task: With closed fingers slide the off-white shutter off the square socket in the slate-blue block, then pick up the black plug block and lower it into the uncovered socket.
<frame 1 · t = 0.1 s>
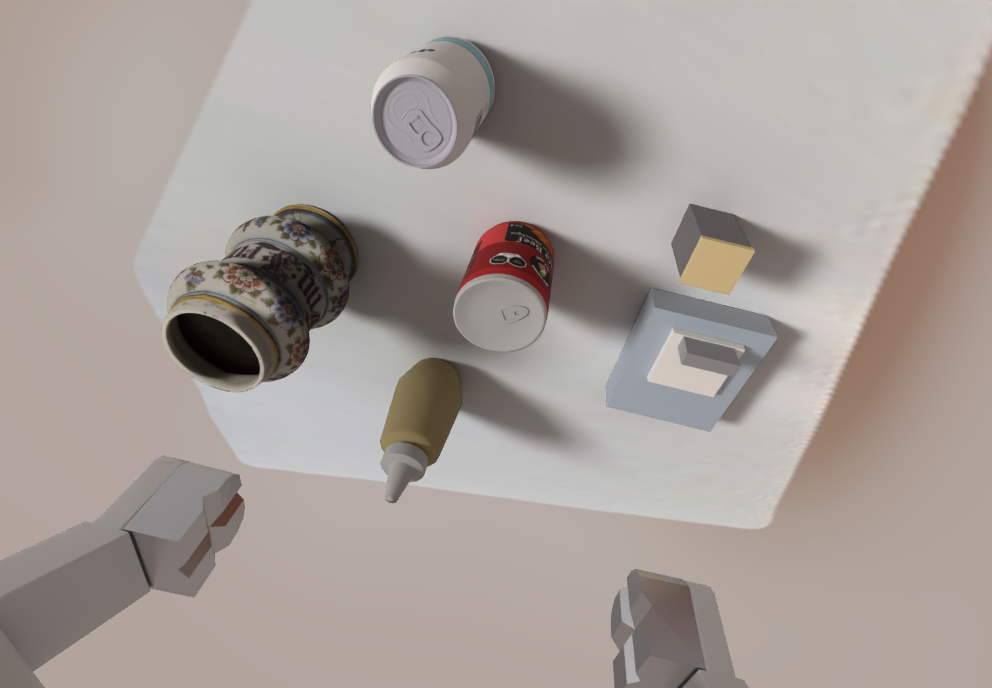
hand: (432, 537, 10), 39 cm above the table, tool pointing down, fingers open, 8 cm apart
apothecary jar: (314, 247, 53), on the table
shutter: (695, 372, 49), point 5 cm above the table, slide at 0.0 cm
canned food: (515, 253, 50), on the table
plug: (701, 229, 45), on the table
socket block: (680, 353, 54), on the table
squeeze bottle: (437, 374, 62), on the table
beverage can: (455, 83, 41), on the table
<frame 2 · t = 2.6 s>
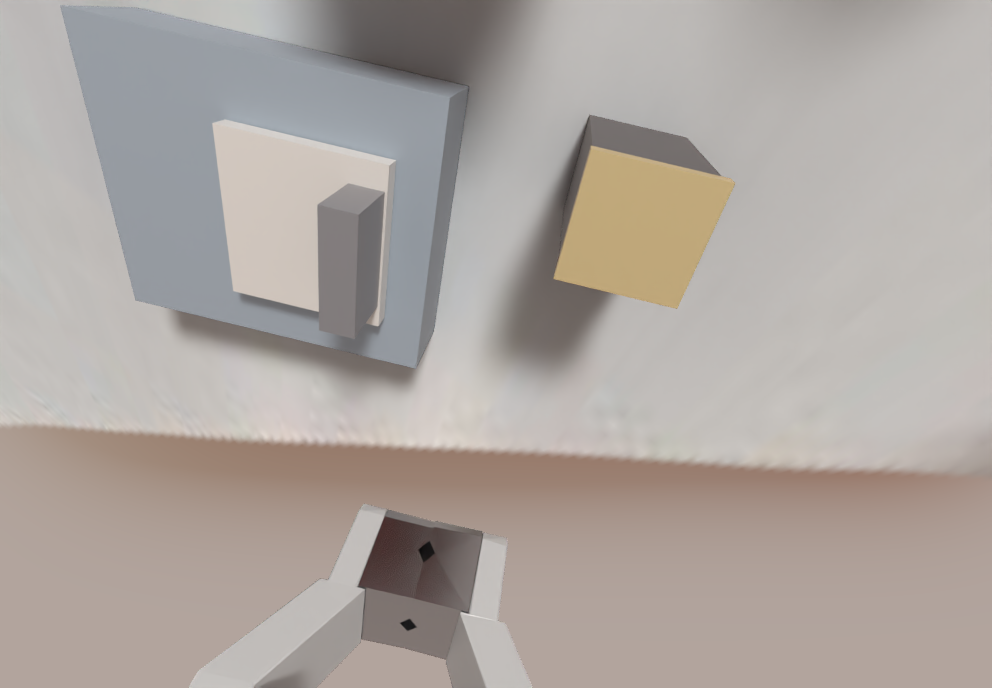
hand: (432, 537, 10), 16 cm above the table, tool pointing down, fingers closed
shutter: (292, 243, 19), point 5 cm above the table, slide at 0.0 cm
plug: (621, 175, 21), on the table
socket block: (305, 191, 23), on the table
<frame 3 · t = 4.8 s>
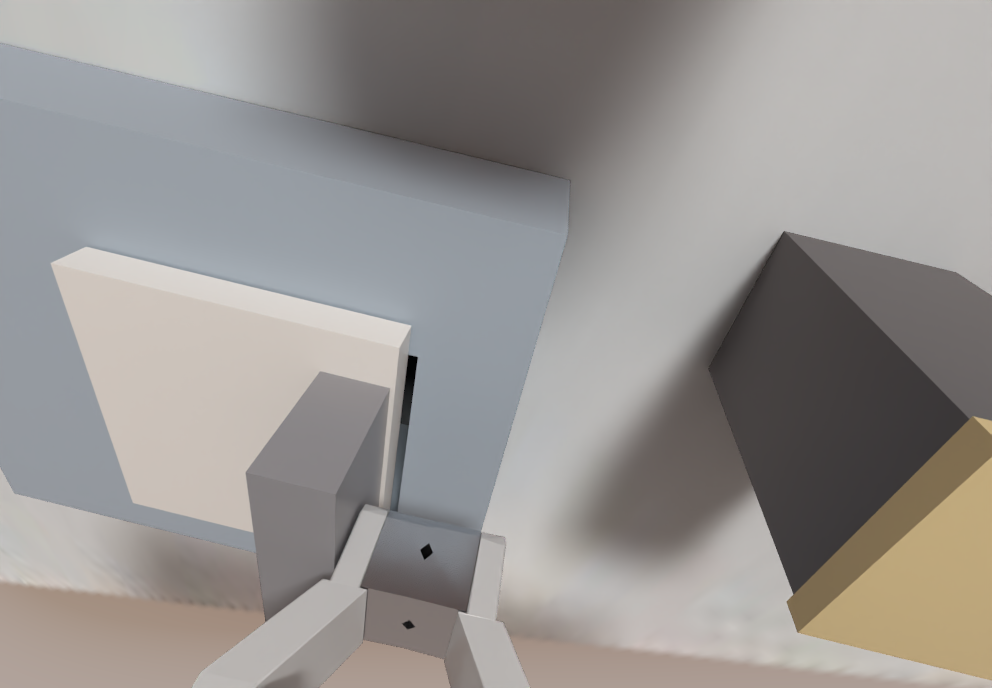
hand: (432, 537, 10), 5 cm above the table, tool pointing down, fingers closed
shutter: (217, 469, 10), point 5 cm above the table, slide at 0.8 cm, touching gripper
plug: (821, 324, 12), on the table
socket block: (283, 326, 15), on the table
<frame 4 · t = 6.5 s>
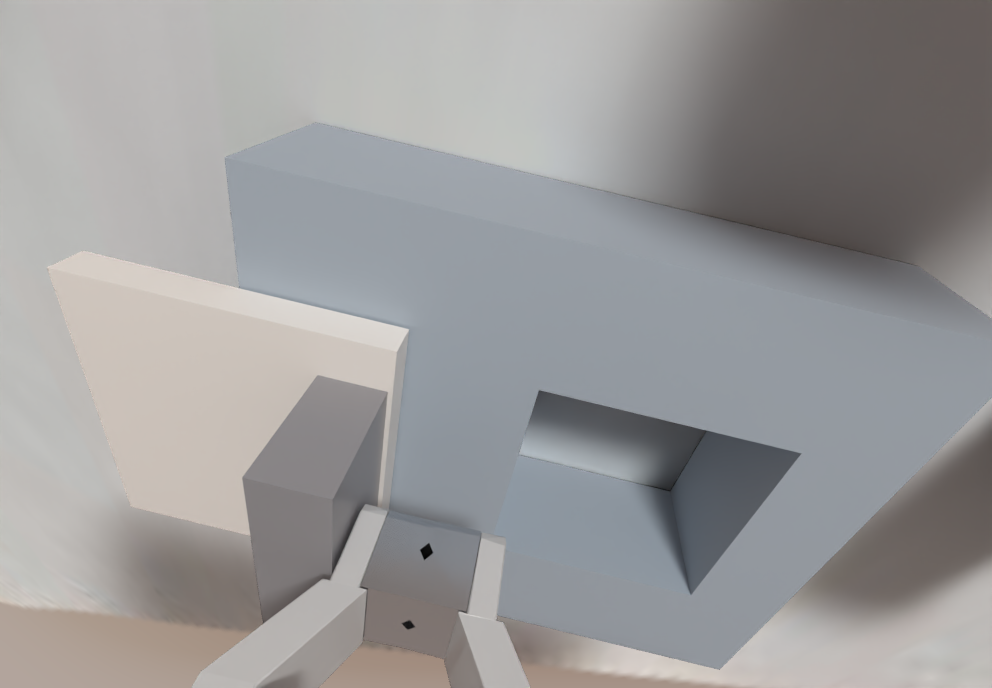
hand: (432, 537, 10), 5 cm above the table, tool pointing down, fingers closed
shutter: (215, 473, 10), point 5 cm above the table, slide at 8.8 cm, touching gripper
socket block: (548, 393, 15), on the table
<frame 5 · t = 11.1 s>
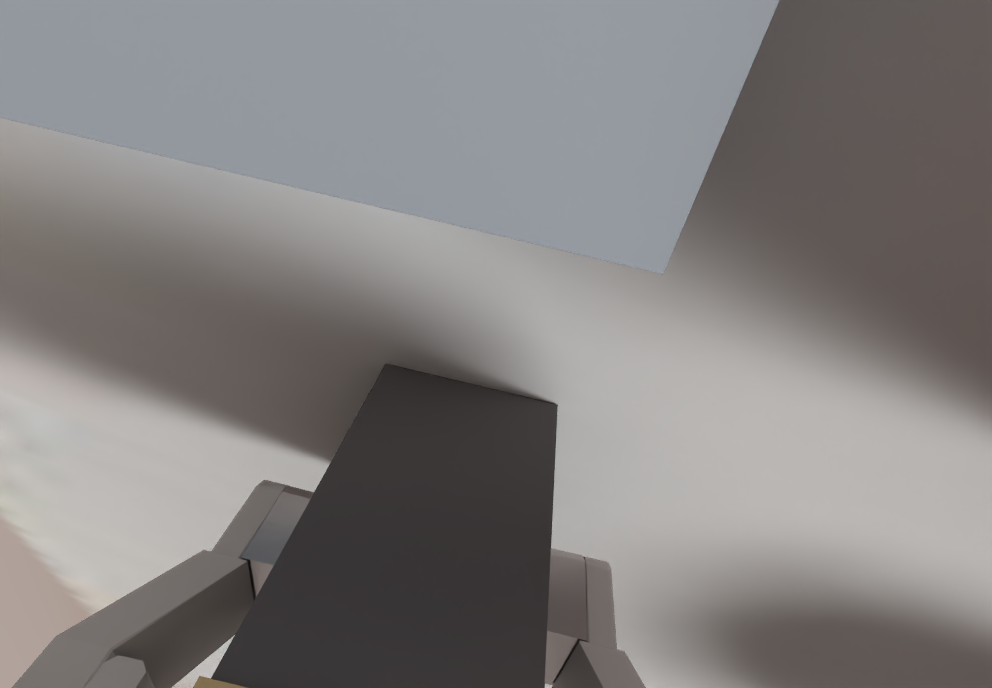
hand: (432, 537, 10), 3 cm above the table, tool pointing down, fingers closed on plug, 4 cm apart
plug: (458, 445, 12), on the table, touching gripper
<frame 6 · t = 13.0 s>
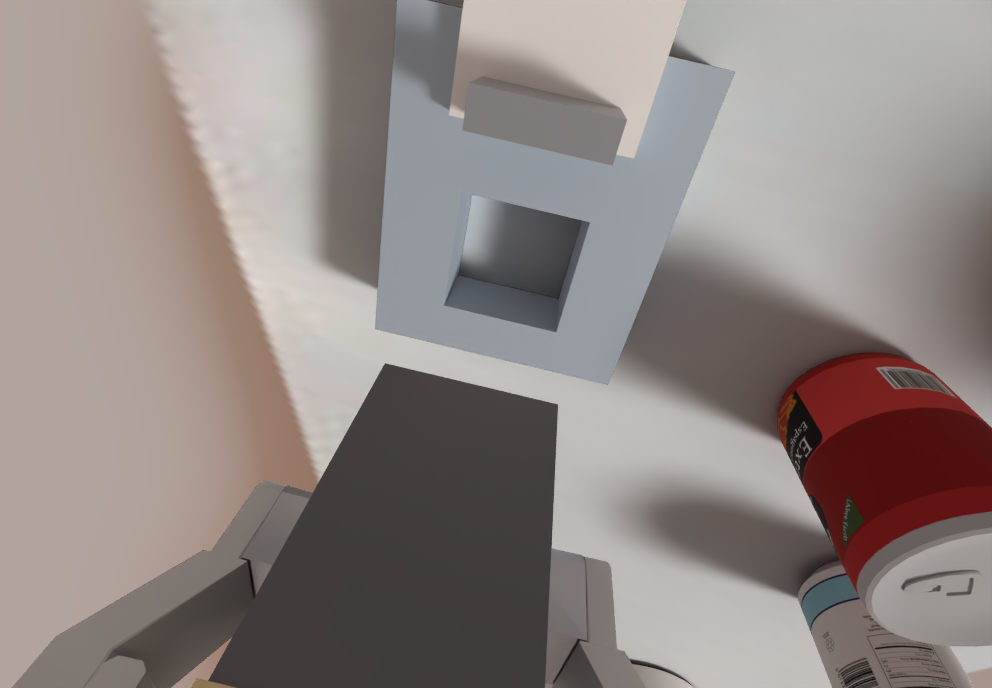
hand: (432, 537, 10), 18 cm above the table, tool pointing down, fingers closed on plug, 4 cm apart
shutter: (564, 33, 16), point 5 cm above the table, slide at 9.0 cm
canned food: (848, 403, 28), on the table
plug: (458, 445, 12), point 15 cm above the table, touching gripper
socket block: (528, 200, 24), on the table
beverage can: (845, 577, 35), on the table
when the fingers open (4 cm above the table, at t = 15.3 s): plug drops 2 cm, resting in socket block.
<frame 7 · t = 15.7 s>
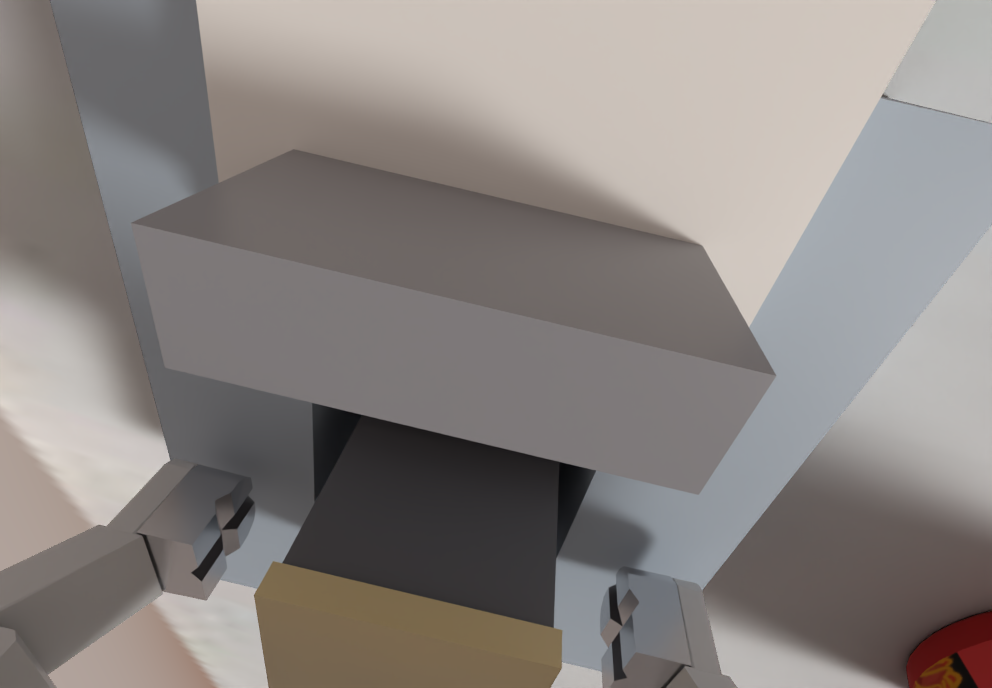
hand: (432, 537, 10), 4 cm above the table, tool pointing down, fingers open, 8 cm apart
shutter: (524, 19, 4), point 5 cm above the table, slide at 9.0 cm
plug: (472, 406, 14), resting in socket block
socket block: (480, 347, 12), on the table
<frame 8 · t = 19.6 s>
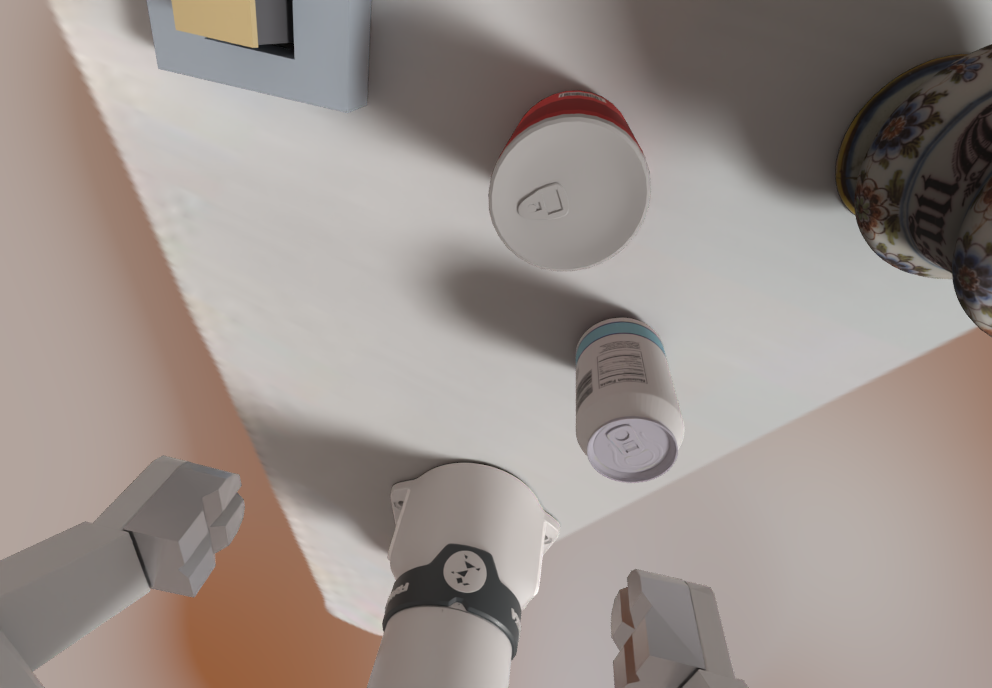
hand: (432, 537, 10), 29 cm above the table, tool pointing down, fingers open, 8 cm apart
apothecary jar: (923, 146, 30), on the table
canned food: (569, 151, 33), on the table
beverage can: (617, 346, 41), on the table
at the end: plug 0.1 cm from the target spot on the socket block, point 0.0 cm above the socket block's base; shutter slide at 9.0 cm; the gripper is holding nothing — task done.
